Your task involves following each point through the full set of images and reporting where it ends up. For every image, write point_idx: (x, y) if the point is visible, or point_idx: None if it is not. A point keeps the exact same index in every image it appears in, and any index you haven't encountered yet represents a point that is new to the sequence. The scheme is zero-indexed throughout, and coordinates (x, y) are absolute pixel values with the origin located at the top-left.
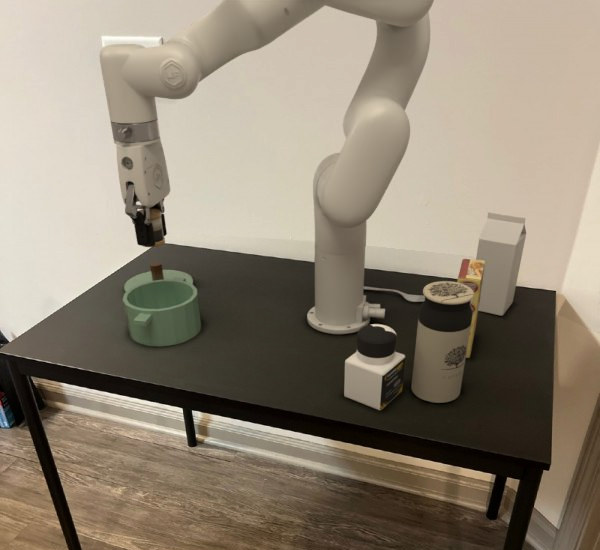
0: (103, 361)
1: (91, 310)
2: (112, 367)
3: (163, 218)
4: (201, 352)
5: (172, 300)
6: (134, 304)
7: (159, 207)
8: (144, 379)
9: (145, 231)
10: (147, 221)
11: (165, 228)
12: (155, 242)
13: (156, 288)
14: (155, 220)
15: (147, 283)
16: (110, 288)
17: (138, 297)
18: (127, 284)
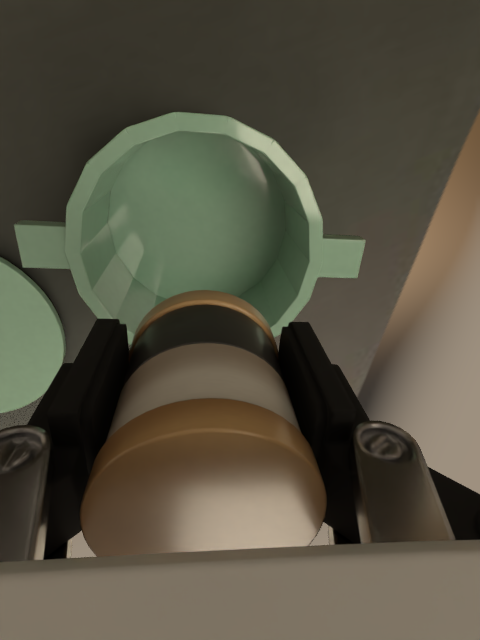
0: (360, 307)
1: None
2: (386, 279)
3: (87, 389)
4: (319, 68)
5: (101, 243)
6: None
7: (50, 493)
8: (444, 187)
9: (359, 408)
10: (395, 446)
11: (98, 339)
12: (265, 329)
13: (111, 299)
14: (274, 410)
15: None
16: None
17: None
18: (4, 406)
